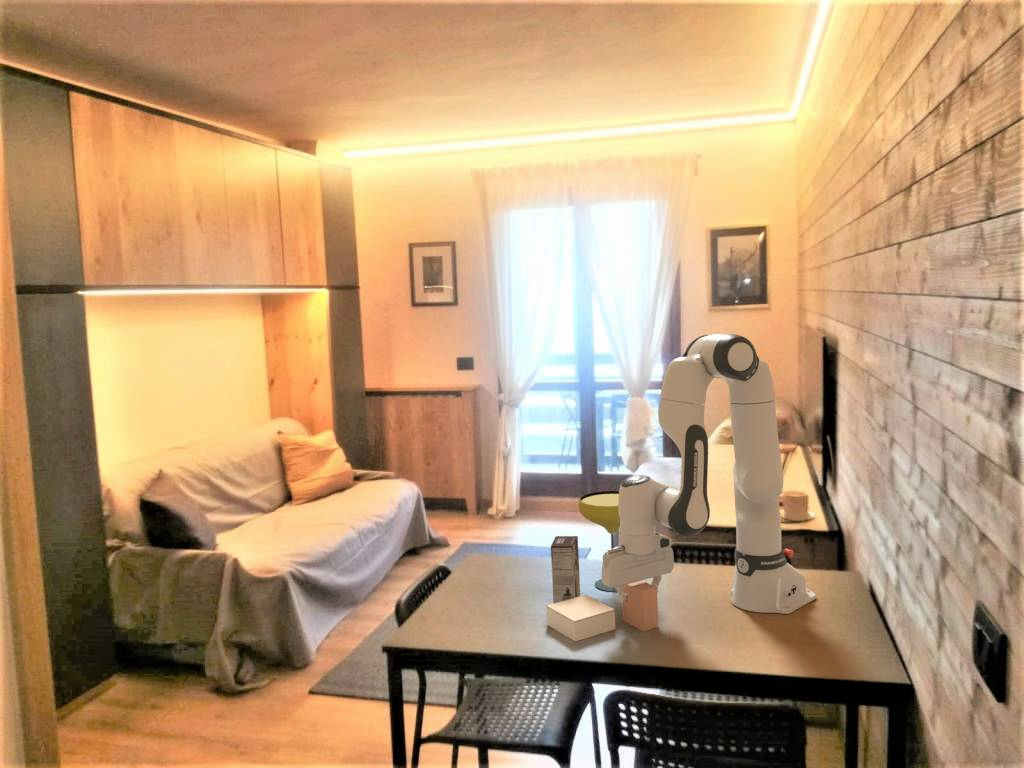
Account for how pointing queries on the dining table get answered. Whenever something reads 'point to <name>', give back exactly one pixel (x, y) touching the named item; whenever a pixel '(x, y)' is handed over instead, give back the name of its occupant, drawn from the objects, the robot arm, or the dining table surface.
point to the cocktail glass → (602, 516)
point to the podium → (580, 617)
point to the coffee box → (565, 568)
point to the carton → (641, 605)
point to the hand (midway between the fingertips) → (638, 596)
